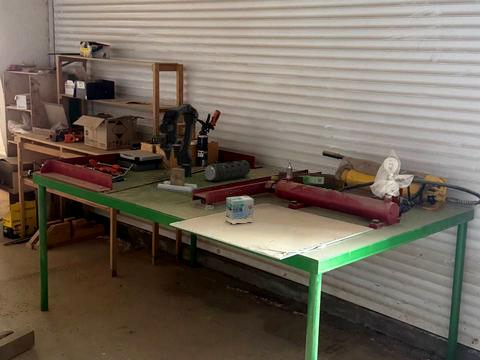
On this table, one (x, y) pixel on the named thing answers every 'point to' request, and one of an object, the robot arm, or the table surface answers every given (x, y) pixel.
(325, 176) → the green bottle
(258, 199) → the table surface
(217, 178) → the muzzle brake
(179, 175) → the wooden block
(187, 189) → the track board
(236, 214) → the light bulb box
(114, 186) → the table surface
